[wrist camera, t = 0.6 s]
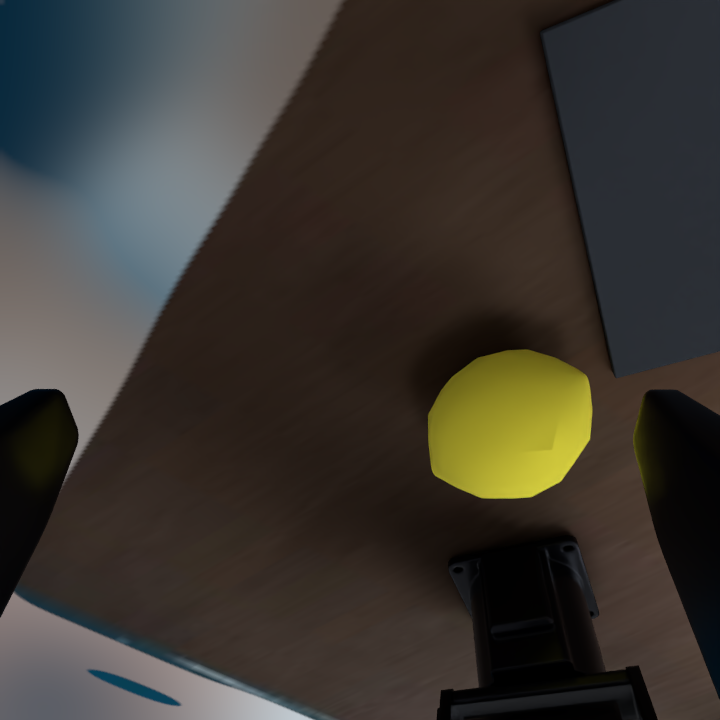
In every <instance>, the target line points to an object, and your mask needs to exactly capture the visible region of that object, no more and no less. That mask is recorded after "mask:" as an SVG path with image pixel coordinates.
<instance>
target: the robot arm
mask: <svg viewBox="0 0 720 720" xmlns="http://www.w3.org/2000/svg"><path fill="white" fill-rule="evenodd" d="M77 443H78V429H77V426H76V423H75V421H74V418H73V416H72V413H71V410H70V408H69V406H68V403H67V400H66V398H65V395H64V394H63V393H62V392H61V391H59V390H57V389H35V390H31V391H29V392H27V393H25V394H23V395H21V396H19V397H17V398H15V399H13V400H11V401H9V402H7V403H4V404H2V405H0V617H1V615H2V613H3V611H4V609H5V607H6V605H7V604H8V602H9V600H10V598H11V595H12V594H13V592H14V590H15V588H16V586H17V584H18V582H19V580H20V578H21V576H22V574H23V572H24V570H25V568H26V566H27V564H28V562H29V560H30V558H31V556H32V554H33V552H34V550H35V548H36V546H37V544H38V542H39V540H40V538H41V536H42V534H43V532H44V529H45V527H46V525H47V523H48V520H49V518H50V515H51V513H52V511H53V508H54V505H55V503H56V500H57V497H58V495H59V492H60V489H61V487H62V484H63V481H64V479H65V476H66V473H67V471H68V468H69V465H70V463H71V460H72V457H73V455H74V452H75V449H76V447H77ZM633 443H634V450H635V454H636V458H637V462H638V466H639V470H640V474H641V477H642V481H643V485H644V489H645V493H646V497H647V501H648V505H649V509H650V513H651V517H652V521H653V525H654V528H655V532H656V535H657V539H658V541H659V544H660V547H661V550H662V553H663V555H664V558H665V560H666V563H667V565H668V568H669V571H670V573H671V576H672V578H673V581H674V583H675V586H676V589H677V591H678V594H679V596H680V599H681V601H682V604H683V607H684V609H685V612H686V614H687V617H688V619H689V622H690V625H691V627H692V630H693V632H694V635H695V637H696V640H697V643H698V645H699V648H700V650H701V653H702V655H703V658H704V661H705V663H706V666H707V668H708V671H709V673H710V676H711V678H712V681H713V684H714V686H715V689H716V691H717V694H718V696H719V699H720V415H718V414H716V413H715V412H713V411H711V410H710V409H708V408H706V407H705V406H703V405H701V404H700V403H698V402H696V401H695V400H693V399H691V398H690V397H688V396H686V395H685V394H683V393H681V392H680V391H678V390H649V391H648V392H646V393H645V395H644V397H643V399H642V403H641V407H640V411H639V415H638V419H637V423H636V427H635V431H634V437H633ZM448 567H449V573H450V575H451V577H452V579H453V581H454V583H455V585H456V587H457V589H458V591H459V593H460V595H461V597H462V599H463V601H464V603H465V605H466V607H467V609H468V611H469V613H470V615H471V617H472V622H473V632H474V642H475V652H476V662H477V673H478V683H479V688H473V689H465V690H457V691H454V690H453V689H447V690H441V696H440V708H438V710H437V720H658V719H657V716H656V713H655V711H654V708H653V705H652V702H651V699H650V697H649V694H648V691H647V688H646V685H645V682H644V680H643V677H642V674H641V671H640V668H639V666H630V667H626V669H625V670H617V671H609V672H606V670H605V666H604V662H603V659H602V655H601V652H600V648H599V644H598V641H597V637H596V634H595V630H594V626H593V623H592V619H594V618H596V617H598V615H599V610H598V607H597V604H596V600H595V597H594V594H593V591H592V588H591V584H590V581H589V578H588V575H587V571H586V568H585V565H584V562H583V558H582V555H581V552H580V549H579V545H578V542H577V540H576V538H575V537H573V536H570V535H565V536H560V537H555V538H550V539H545V540H540V541H535V542H530V543H525V544H520V545H515V546H510V547H505V548H500V549H495V550H490V551H485V552H480V553H475V554H470V555H465V556H460V557H455V558H452V559H451V560H449V562H448Z"/></svg>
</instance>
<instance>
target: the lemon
mask: <svg viewBox="0 0 720 720" xmlns="http://www.w3.org/2000/svg"><path fill="white" fill-rule="evenodd" d="M591 421H592V401H591V392H590V385H589V381H588V378H587V376H586V375H585V374H584V373H582V372H581V371H580V370H578V369H576V368H574V367H572V366H570V365H568V364H567V363H565V362H563V361H561V360H559V359H557V358H555V357H551V356H548V355H545V354H541V353H538V352H534V351H531V350H528V349H526V350H506V351H502V352H498V353H494V354H490V355H486V356H482V357H478V358H476V359H475V360H474V361H472V362H471V363H470V364H468V365H467V366H466V367H464V368H463V369H462V370H460V371H459V372H458V373H456V374H455V375H454V376H453V377H451V379H450V380H449V381H448V382H447V383H446V385H445V386H444V387H443V388H442V389H441V391H440V393H439V395H438V397H437V399H436V401H435V403H434V405H433V406H432V408H431V410H430V412H429V414H428V444H429V452H430V460H431V469H432V472H433V474H434V475H435V476H436V477H438V478H440V479H442V480H444V481H445V482H447V483H449V484H451V485H453V486H454V487H456V488H458V489H461V490H463V491H466V492H468V493H470V494H473V495H475V496H477V497H480V498H493V499H497V498H526V497H533V496H534V495H536V494H538V493H540V492H542V491H544V490H546V489H548V488H550V487H551V486H553V485H555V484H557V483H559V482H561V481H562V479H563V478H564V476H565V475H566V474H567V472H568V471H569V470H570V468H571V467H572V465H573V464H574V462H575V461H576V459H577V458H578V456H579V455H580V453H581V452H582V450H583V449H584V447H585V446H586V444H587V443H588V441H589V440H590V433H591Z"/></svg>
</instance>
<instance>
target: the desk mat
mask: <svg viewBox="0 0 720 720" xmlns="http://www.w3.org/2000/svg"><path fill="white" fill-rule="evenodd" d="M540 36H541V41H542V45H543V50H544V55H545V59H546V64H547V69H548V73H549V78H550V82H551V87H552V92H553V96H554V101H555V106H556V110H557V115H558V120H559V124H560V129H561V134H562V138H563V143H564V147H565V152H566V157H567V161H568V166H569V171H570V175H571V180H572V185H573V189H574V194H575V199H576V203H577V208H578V212H579V217H580V222H581V226H582V231H583V236H584V240H585V245H586V250H587V254H588V259H589V264H590V268H591V273H592V277H593V282H594V287H595V291H596V296H597V301H598V305H599V310H600V315H601V319H602V324H603V328H604V333H605V338H606V342H607V347H608V352H609V356H610V361H611V366H612V370H613V374H614V376H615V377H616V378H619V377H623V376H627V375H630V374H634V373H638V372H642V371H646V370H649V369H653V368H657V367H661V366H665V365H669V364H672V363H676V362H680V361H684V360H688V359H692V358H695V357H699V356H703V355H707V354H711V353H715V352H718V351H720V0H614V1H612V2H609V3H607V4H605V5H602V6H600V7H597V8H595V9H593V10H590V11H588V12H585V13H583V14H581V15H578V16H576V17H573V18H571V19H569V20H566V21H564V22H561V23H559V24H557V25H554V26H552V27H550V28H547V29H545V30H542V31H541V32H540Z"/></svg>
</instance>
